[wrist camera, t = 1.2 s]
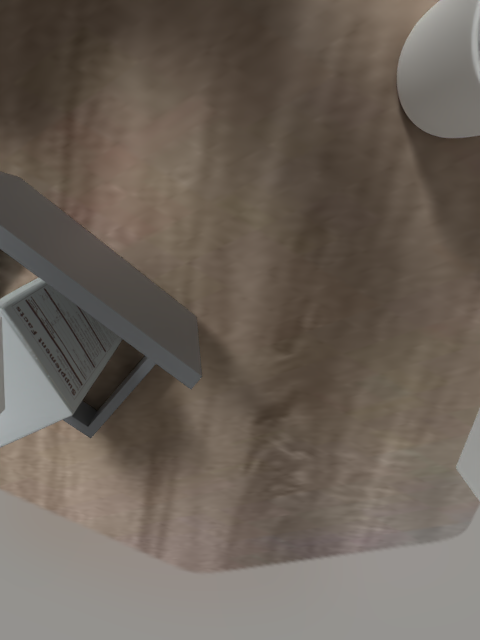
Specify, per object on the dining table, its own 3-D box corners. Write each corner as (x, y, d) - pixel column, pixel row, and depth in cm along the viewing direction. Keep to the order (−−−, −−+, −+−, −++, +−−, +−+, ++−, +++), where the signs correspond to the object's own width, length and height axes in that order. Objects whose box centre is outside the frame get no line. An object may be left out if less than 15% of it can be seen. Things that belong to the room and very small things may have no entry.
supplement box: (55, 368, 37) (-33, 464, 25) (4, 293, 35) (-118, 360, 23) (129, 335, 36) (75, 418, 24) (82, 255, 34) (-4, 304, 22)
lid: (-133, 154, 16) (-119, 135, 16) (11, 187, 29) (19, 177, 29) (189, 391, 20) (202, 376, 20) (189, 325, 33) (196, 316, 33)
